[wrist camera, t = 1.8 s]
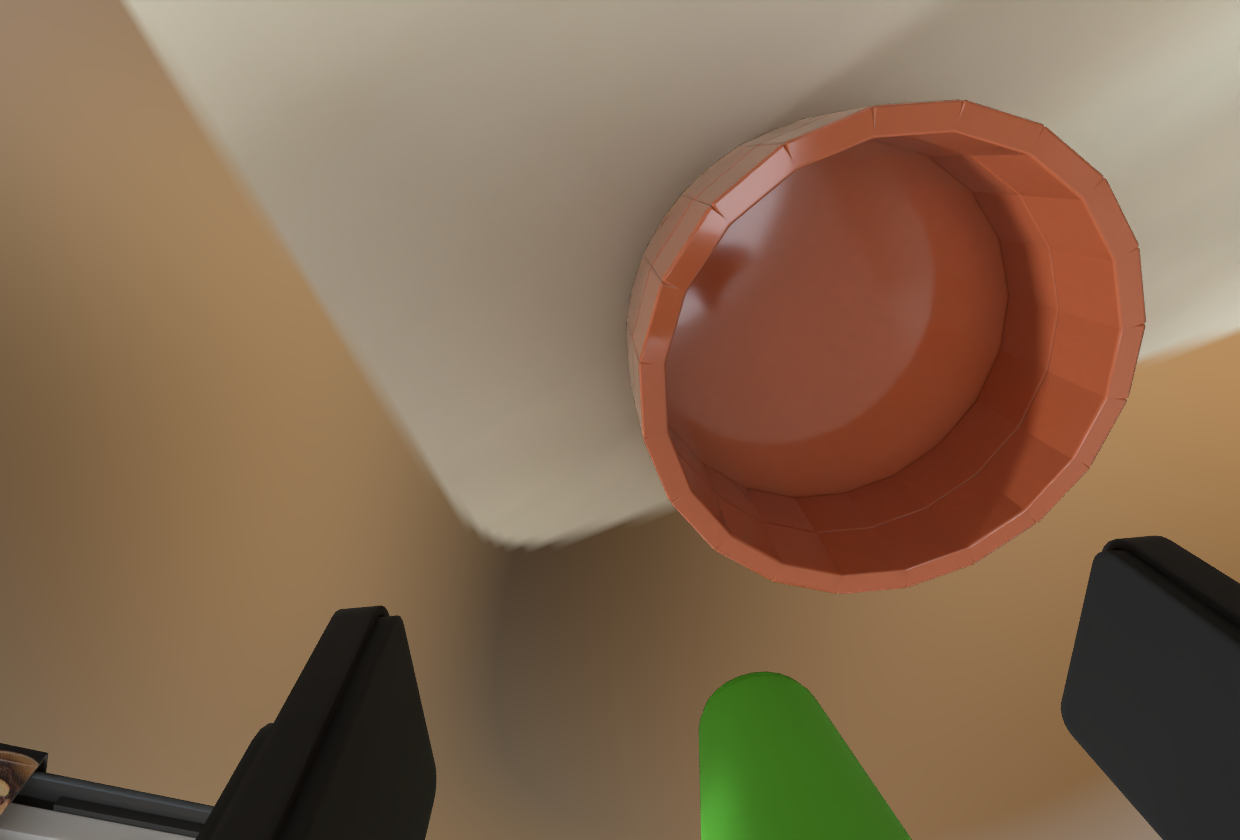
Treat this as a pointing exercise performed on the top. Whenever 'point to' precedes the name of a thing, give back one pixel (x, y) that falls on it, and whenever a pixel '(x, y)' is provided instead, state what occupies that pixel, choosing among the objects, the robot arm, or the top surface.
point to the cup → (782, 769)
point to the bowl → (883, 341)
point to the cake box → (84, 806)
